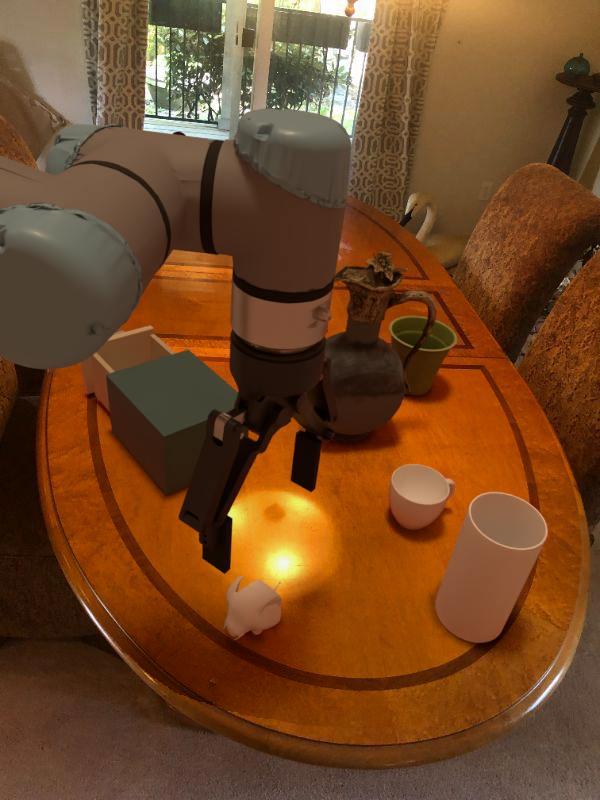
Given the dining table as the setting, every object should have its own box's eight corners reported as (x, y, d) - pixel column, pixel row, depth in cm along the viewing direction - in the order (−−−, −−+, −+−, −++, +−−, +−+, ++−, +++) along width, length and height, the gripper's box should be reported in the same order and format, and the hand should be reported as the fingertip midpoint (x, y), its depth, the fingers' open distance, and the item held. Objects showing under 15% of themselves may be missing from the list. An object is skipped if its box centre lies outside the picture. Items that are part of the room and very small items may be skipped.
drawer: (71, 375, 104) (64, 329, 99) (138, 355, 111) (135, 311, 106) (128, 442, 91) (124, 393, 86) (200, 415, 98) (200, 368, 93)
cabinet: (111, 432, 94) (105, 374, 88) (188, 404, 102) (188, 349, 96) (166, 496, 84) (163, 436, 78) (247, 460, 92) (250, 402, 86)
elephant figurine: (207, 626, 69) (207, 592, 65) (257, 584, 74) (260, 552, 71) (249, 666, 66) (252, 633, 62) (299, 620, 71) (304, 587, 67)
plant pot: (368, 389, 110) (378, 335, 104) (391, 361, 119) (402, 309, 113) (430, 412, 106) (446, 357, 100) (450, 381, 115) (465, 328, 109)
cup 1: (372, 506, 87) (380, 470, 83) (431, 490, 91) (441, 455, 87) (401, 546, 81) (411, 510, 77) (462, 527, 85) (475, 492, 81)
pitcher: (290, 412, 103) (309, 240, 85) (396, 405, 107) (435, 240, 90) (306, 455, 94) (331, 273, 77) (421, 445, 99) (469, 271, 81)
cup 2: (423, 616, 73) (456, 523, 63) (451, 572, 78) (485, 480, 69) (489, 656, 69) (534, 563, 60) (513, 607, 75) (557, 515, 66)
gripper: (205, 425, 38) (203, 630, 50) (396, 296, 55) (360, 473, 67) (120, 377, 41) (139, 581, 53) (327, 270, 58) (304, 443, 70)
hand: (262, 521), depth 60 cm, fingers open, 13 cm apart
